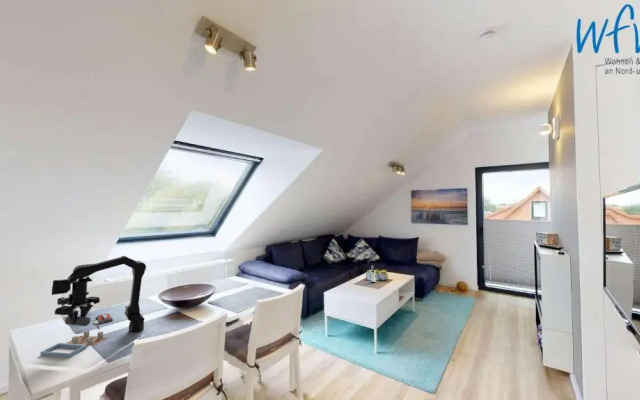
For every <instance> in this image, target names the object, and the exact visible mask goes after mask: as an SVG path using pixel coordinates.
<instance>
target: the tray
mask: <svg viewBox="0 0 640 400" xmlns="http://www.w3.org/2000/svg"><path fill="white" fill-rule="evenodd" d="M58 348H65V349H75V350H73V351H71V352H57V351H55V350H56V349H58ZM86 349H87V345H83V344H70V343H67V342H58V343H56V344H54V345H52V346H49V347H48V348H46V349H44V350H41V351H40V356H41V357H54V358H65V359H66V358H67V359H70V358H72V357H74V356H75V355H77V354H78V353H81V352H82V351H84V350H86Z"/></svg>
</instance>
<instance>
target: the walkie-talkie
mask: <svg viewBox="0 0 640 400" xmlns="http://www.w3.org/2000/svg"><path fill="white" fill-rule="evenodd" d="M113 320H114V319H113V317H112V316H111V315H110V313H103V314H98V315H97V316H96V317H95V320H93V326H96V328H97V330H100V329H101V328H100V326H99V325H102V324H105V323H113Z"/></svg>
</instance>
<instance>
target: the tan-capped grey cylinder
mask: <svg viewBox="0 0 640 400" xmlns="http://www.w3.org/2000/svg"><path fill="white" fill-rule="evenodd" d="M91 320H92V319H91V318H90V317H88V316H86V317H80V316H77V319H76V323H75V324H72V322H71V320H70V318H69V316H68V315H67V317H65V318H64V324H65V325H69V326H82V327H87V326H88V325H90V323H91Z"/></svg>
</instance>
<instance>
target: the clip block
mask: <svg viewBox="0 0 640 400" xmlns="http://www.w3.org/2000/svg"><path fill="white" fill-rule="evenodd" d="M106 340H108V337H104V331H101V330H100V331H98V332H97V336H90V330H85V331H83V335H79V336H78V335H74V336H72V337H71V340H69V341H68V342H66V343H67V344H79V345H86V346H96V345H98V344H100V343H101V342H104V341H106Z"/></svg>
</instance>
